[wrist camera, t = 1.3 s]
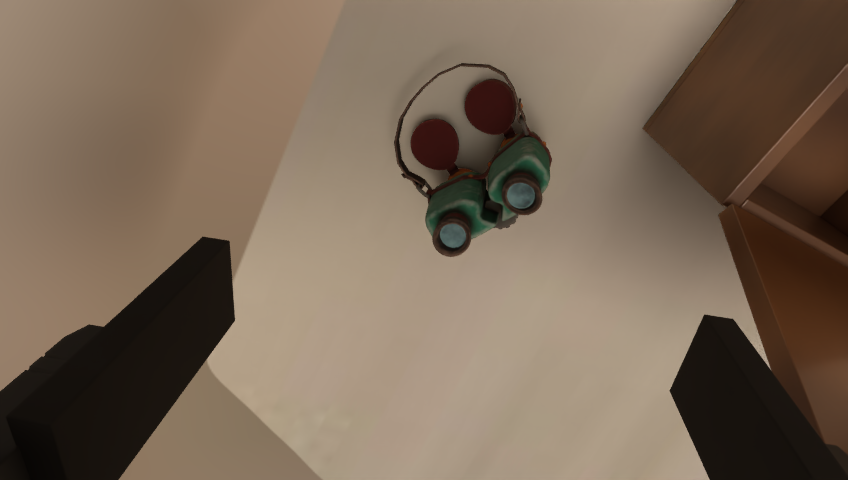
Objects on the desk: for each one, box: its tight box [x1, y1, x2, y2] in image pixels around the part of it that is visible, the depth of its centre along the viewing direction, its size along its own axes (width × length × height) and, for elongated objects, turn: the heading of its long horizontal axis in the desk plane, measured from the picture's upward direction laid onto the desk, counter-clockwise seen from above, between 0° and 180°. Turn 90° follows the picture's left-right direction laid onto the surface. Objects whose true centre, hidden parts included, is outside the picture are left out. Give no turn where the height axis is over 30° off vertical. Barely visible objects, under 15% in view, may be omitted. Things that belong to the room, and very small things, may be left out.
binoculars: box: [394, 63, 552, 257], centre depth 31 cm, size 9×11×10 cm
